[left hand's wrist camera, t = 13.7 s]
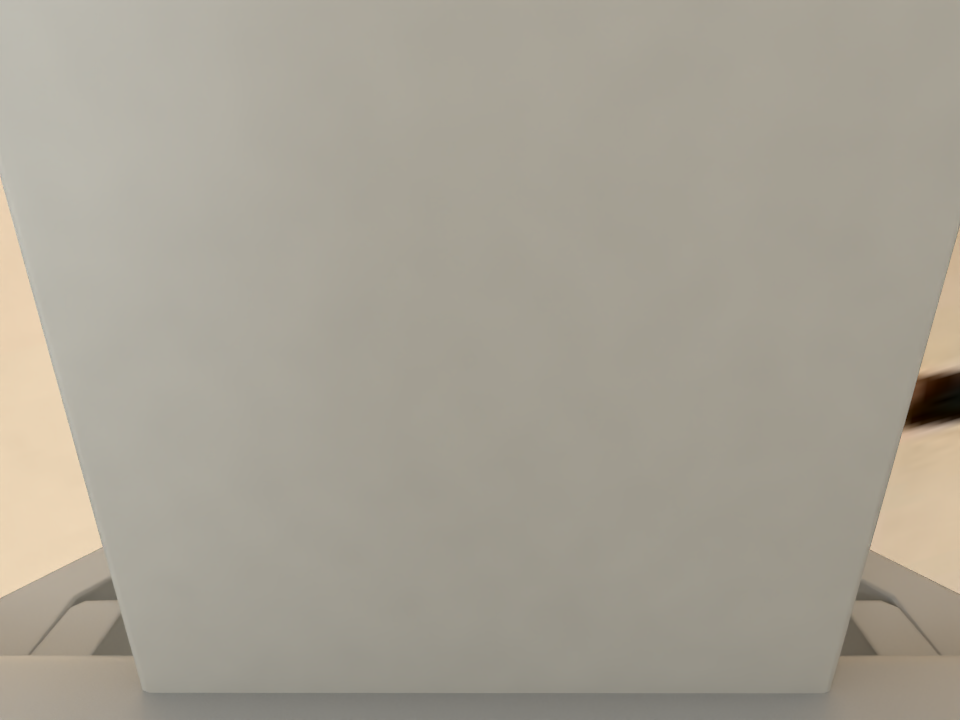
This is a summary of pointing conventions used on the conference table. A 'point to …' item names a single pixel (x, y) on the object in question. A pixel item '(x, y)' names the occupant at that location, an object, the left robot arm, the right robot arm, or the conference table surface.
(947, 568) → the conference table surface
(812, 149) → the bar
